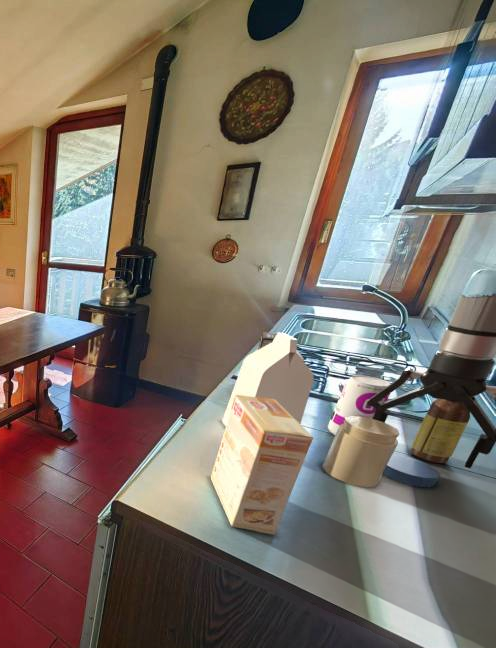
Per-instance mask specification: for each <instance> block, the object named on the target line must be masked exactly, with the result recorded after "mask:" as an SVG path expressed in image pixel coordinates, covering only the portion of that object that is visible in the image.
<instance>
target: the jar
mask: <svg viewBox="0 0 496 648" xmlns="http://www.w3.org/2000/svg"><path fill="white" fill-rule="evenodd" d="M399 436H400V432H399V429H397V428H396V427H394V426H393V425H391V424H389V423H386V422H385V423H384V422H381V421H378V420H374V419H370V418H365V417H358V416H351V417H346V418H345V420H344V424H341V425H340V426H339V428H338V430H337V433H336V435H334V438H333V440H332V443H331V444H330V446H329V449H328V452H327V454H326V457H325V459H324V461H323V463H322V469H323V470H324V472H325V473H327V474H328V475H329V476H331V477H333V478H334V479H336V480H339V481H341V482H343V483H345V484H349V485H353V486H356V487H361V488H375V487H377V486H378V484H379V482H380V480H381V478H382V477H383V472H384V470H385V468H386V466H387V464H388V462H389V460H390V458H391V456H392V454H393V453H395V450H396V448H397V446H398V444H399V441H398V439H397V438H398V437H399Z"/></svg>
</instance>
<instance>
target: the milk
mask: <svg viewBox="0 0 496 648" xmlns="http://www.w3.org/2000/svg"><path fill="white" fill-rule="evenodd" d="M276 334H277V335H276V337H275V338H274V340H273V342H272V343H270V344H268V345H266V346H264V347H263V348H261V349H259V350H258V349H257V350H255V351H253V352H252V353H250V354H248V355H247V356H246V357H244V359H243V361H242V364H241V367H240V369H239V373H238V375H237V378H236V381H235V383H234V386H233V390H232V392H231V395H230V398H229V401H228V403H227V406H226V409H225V411H224V415H223V417H222V420H221V423H222V424H223V425H224V427H226V425H227V422H228V418H229V415H230V412H231V408H232V405H233V402H234V398H235V395H243V396H251V397H261V398H269V399H275V400H276V401H277V402H278V403H279V404H280V405H281V406H282V407H283V408H284V409H285V410H286V411H287V412H288V413H289V414H290V415H291V416H292V417H293V418H294V419H295V420H296V421H297V422H298V423H299V424H300V425H302V424H301V423H302V420H303V416H304V414H305V410H306V407H307V404H308V400H309V397H310V394H311V390H312V387H313V383H314V380H315V376H314V373H313V371H312V370H311V368H310V367H309V366H308V365H307V364H306V362H305V361H304V356H303V355H302V354H301V353H300V352H299V351H298V338H295V337H293V336H291V335H289V334H287V333H286V332H277V333H276Z"/></svg>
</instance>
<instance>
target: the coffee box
mask: <svg viewBox="0 0 496 648" xmlns="http://www.w3.org/2000/svg"><path fill="white" fill-rule="evenodd" d="M276 335H277V333H275V332H274V333H273V332H266V331H265V332H264V331H263V332H262V334H261V336H260V340H259V343H258V347H257V350H259V349H261V348H263V347H264V346H266V345H268V344H270V343H272V342H273V340H274V338H275V337H276Z"/></svg>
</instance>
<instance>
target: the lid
mask: <svg viewBox="0 0 496 648" xmlns="http://www.w3.org/2000/svg"><path fill="white" fill-rule="evenodd" d="M382 476H385V477H387V478H389V479H392V480H394V481H396V482H399V483H402V484H405V485H409V486H413V487H418V488H431V487H433V486H435V485H436V483H437V481H438V479H439V477H440V473H439V471H438V470H437V469H436V468H434V467H433V466H431V465H430V464H428V463H426V462H425V461H421V460H419V459H416V458H413V457H411V456H408V455H403V454H400V453H395V452H393V454H392V456H391V458H390V460H389V462H388V464H387V466H386V468H385V470H384V472H383V474H382Z"/></svg>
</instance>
